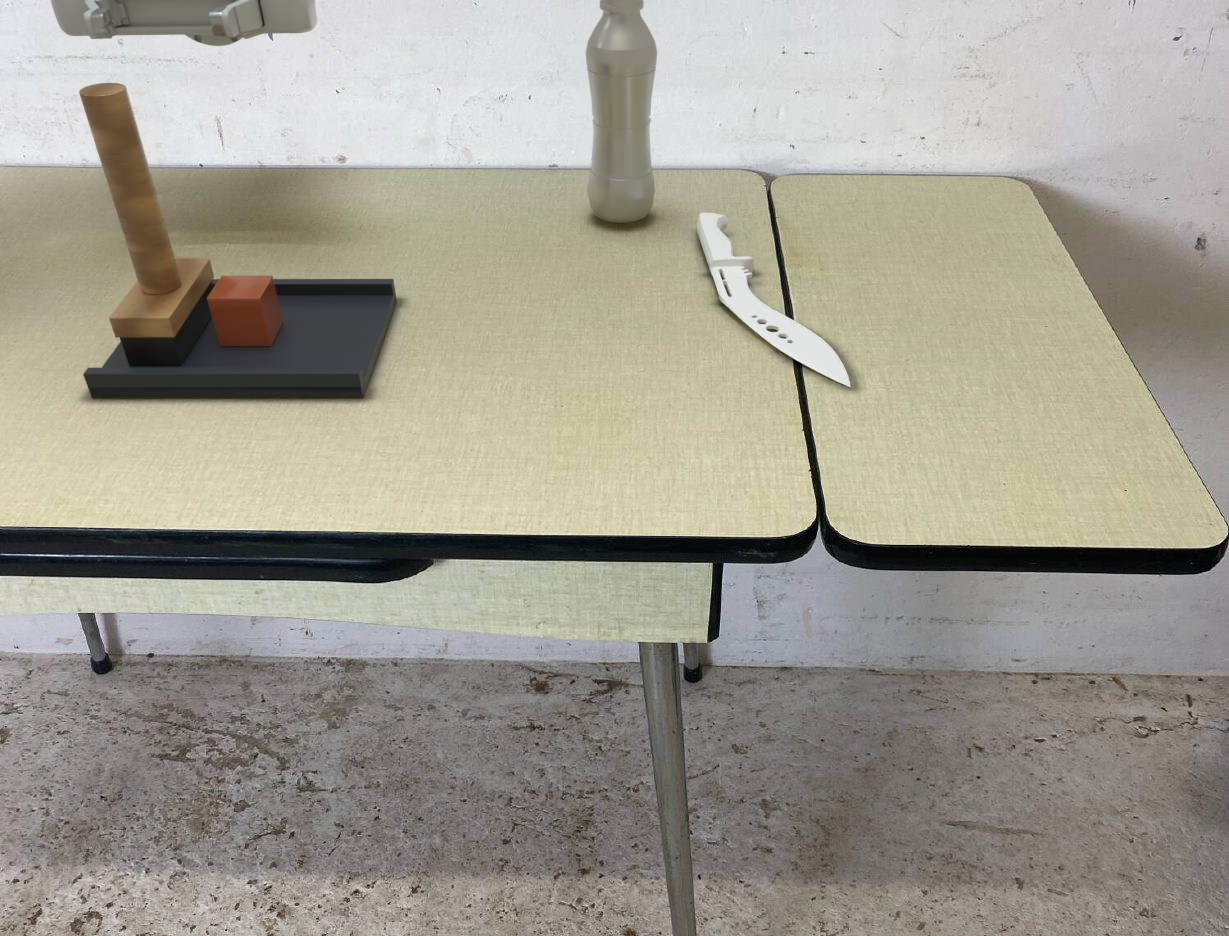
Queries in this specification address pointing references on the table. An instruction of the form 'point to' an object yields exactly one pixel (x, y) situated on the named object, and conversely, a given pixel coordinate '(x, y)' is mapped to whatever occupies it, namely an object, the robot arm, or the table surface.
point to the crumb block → (245, 310)
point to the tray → (273, 350)
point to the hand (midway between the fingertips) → (158, 26)
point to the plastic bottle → (621, 112)
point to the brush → (146, 242)
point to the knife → (752, 310)
